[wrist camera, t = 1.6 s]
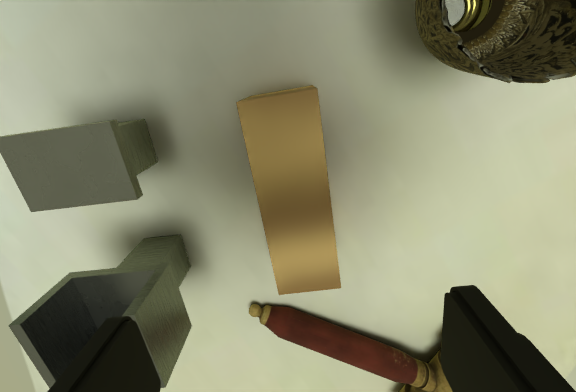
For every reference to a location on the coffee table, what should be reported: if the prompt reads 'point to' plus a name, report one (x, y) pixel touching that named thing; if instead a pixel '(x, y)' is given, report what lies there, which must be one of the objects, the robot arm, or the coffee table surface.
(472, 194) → the coffee table surface
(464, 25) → the cup
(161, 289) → the cup bracket
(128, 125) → the grey tabbed slab
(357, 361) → the gavel
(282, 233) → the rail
